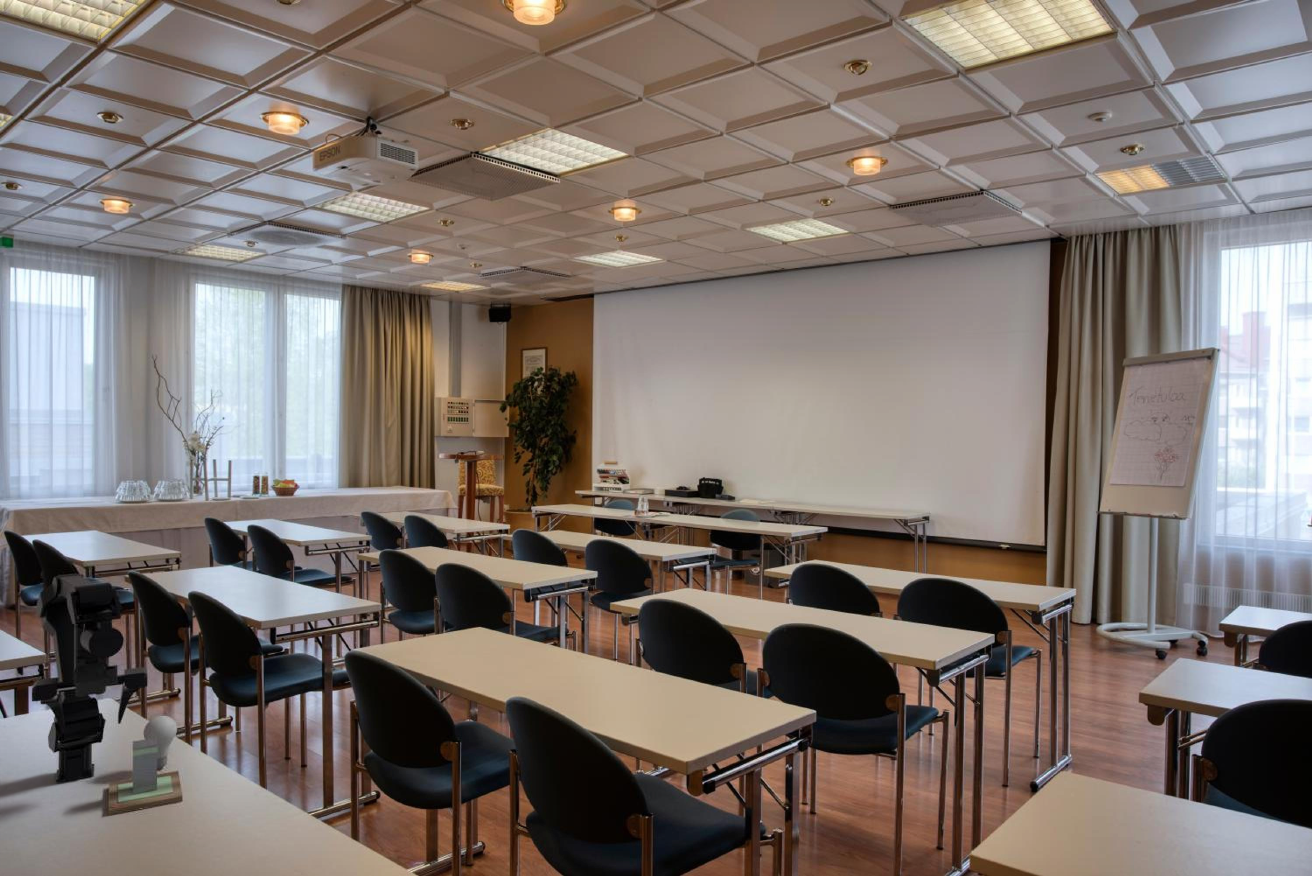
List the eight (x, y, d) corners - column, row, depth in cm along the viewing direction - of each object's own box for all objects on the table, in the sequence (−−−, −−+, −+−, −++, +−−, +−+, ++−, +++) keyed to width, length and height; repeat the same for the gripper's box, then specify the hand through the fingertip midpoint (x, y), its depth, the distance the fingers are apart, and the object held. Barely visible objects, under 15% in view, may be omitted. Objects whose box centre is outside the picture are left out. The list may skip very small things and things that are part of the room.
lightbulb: (142, 776, 176) (142, 723, 176) (144, 765, 181) (144, 714, 181) (176, 771, 179) (176, 719, 179) (177, 761, 184) (177, 710, 184)
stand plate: (109, 788, 170) (109, 782, 170) (178, 775, 177) (178, 769, 177) (108, 815, 158) (108, 809, 158) (182, 801, 165) (182, 795, 165)
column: (132, 787, 168) (132, 741, 168) (156, 782, 170) (156, 737, 170) (132, 794, 165) (133, 748, 165) (157, 790, 167) (157, 744, 167)
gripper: (29, 664, 156) (29, 749, 156) (148, 651, 166) (148, 731, 166) (34, 650, 165) (34, 731, 165) (146, 638, 175) (146, 714, 175)
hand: (91, 727), depth 168 cm, fingers open, 9 cm apart
